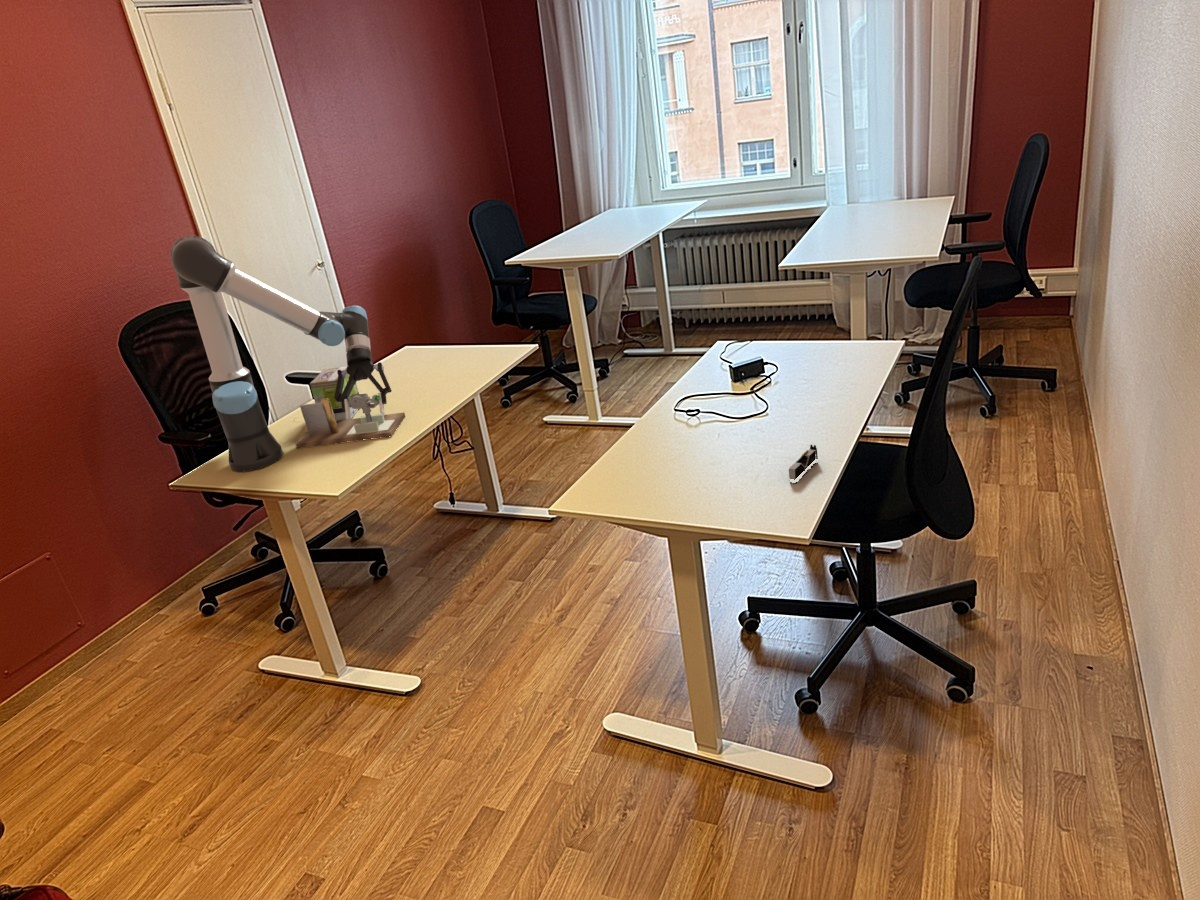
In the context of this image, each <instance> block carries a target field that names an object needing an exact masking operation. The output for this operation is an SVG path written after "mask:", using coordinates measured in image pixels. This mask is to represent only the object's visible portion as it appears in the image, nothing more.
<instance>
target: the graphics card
mask: <svg viewBox="0 0 1200 900" xmlns="http://www.w3.org/2000/svg"><path fill="white" fill-rule="evenodd" d="M815 459H819V458H818V448H817V445H815V444H814V445H813V444H810V445H809V449H807V450H805V452H804V453H802V455H801V456H800V458H798V460H796V461H795V462H794V463H793V464H792V465H791V466H790V467H789V468H788V477H789V478H790V479H794V480H795V479H796V478H797V477H798V476H799V475H800V474H801V473H802V472H803V471H805V469H806V468H807V467H808V466H809V465H810V464H811V463H812V462H813V461H814V460H815Z"/></svg>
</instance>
